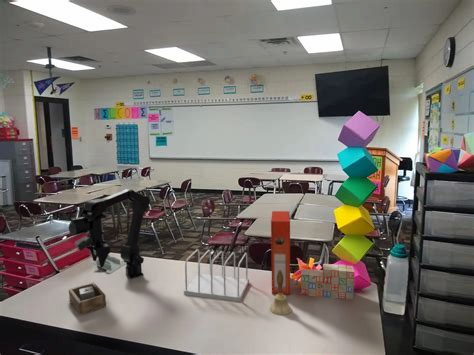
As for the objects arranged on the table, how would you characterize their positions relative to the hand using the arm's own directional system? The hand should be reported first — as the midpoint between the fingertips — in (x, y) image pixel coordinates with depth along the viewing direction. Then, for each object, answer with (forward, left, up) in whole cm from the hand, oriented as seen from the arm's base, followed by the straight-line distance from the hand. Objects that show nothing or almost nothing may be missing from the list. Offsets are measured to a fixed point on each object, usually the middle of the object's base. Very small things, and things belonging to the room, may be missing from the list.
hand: (98, 264), depth 151 cm
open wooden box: (+8, +9, -12) cm, 17 cm away
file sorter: (-40, +33, -12) cm, 54 cm away
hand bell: (-48, +64, -12) cm, 81 cm away
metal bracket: (-12, -23, -13) cm, 29 cm away
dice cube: (+8, +9, -11) cm, 17 cm away
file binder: (-63, +50, -12) cm, 81 cm away
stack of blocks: (-72, +68, -12) cm, 100 cm away
